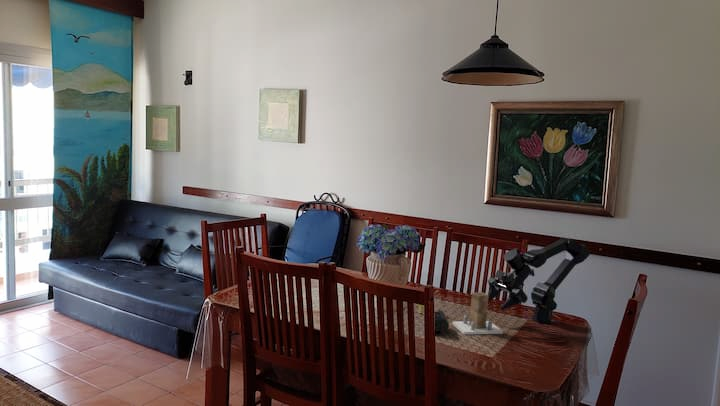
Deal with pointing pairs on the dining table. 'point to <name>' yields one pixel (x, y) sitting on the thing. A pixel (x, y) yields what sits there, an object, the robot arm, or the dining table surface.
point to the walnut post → (479, 309)
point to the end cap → (441, 323)
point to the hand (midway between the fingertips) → (493, 305)
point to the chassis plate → (468, 329)
